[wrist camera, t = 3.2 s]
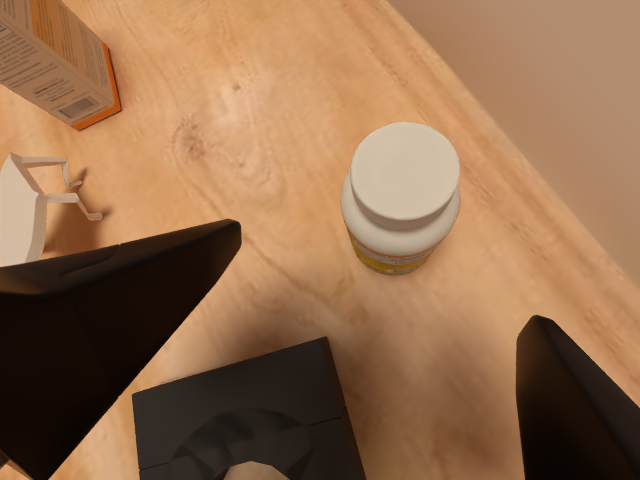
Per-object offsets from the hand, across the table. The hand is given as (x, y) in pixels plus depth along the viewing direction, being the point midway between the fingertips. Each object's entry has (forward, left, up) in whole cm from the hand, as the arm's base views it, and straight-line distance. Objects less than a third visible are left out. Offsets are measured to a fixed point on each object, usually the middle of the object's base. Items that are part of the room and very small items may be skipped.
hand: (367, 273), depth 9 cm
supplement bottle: (+3, -2, -11) cm, 12 cm away
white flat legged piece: (+10, +22, -11) cm, 26 cm away
